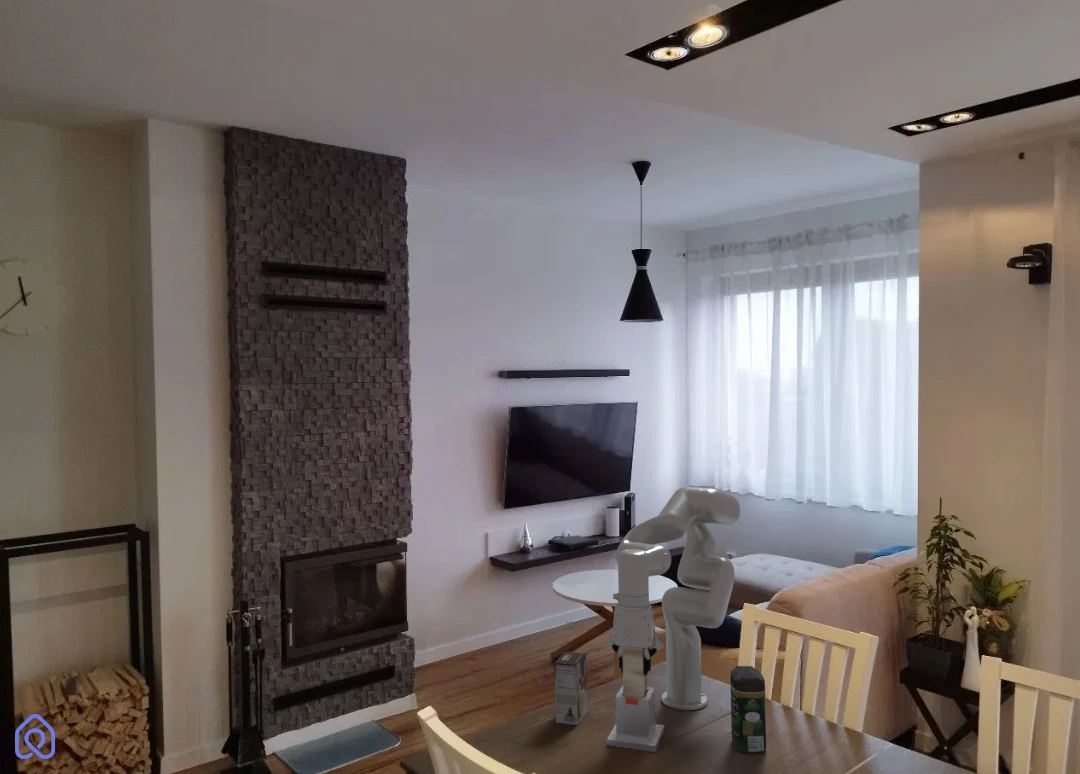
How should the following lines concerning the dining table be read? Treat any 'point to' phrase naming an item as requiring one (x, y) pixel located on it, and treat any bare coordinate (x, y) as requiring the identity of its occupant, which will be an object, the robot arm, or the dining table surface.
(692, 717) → the dining table surface
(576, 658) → the coffee box
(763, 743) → the coffee jar
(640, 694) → the post
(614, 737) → the stand
